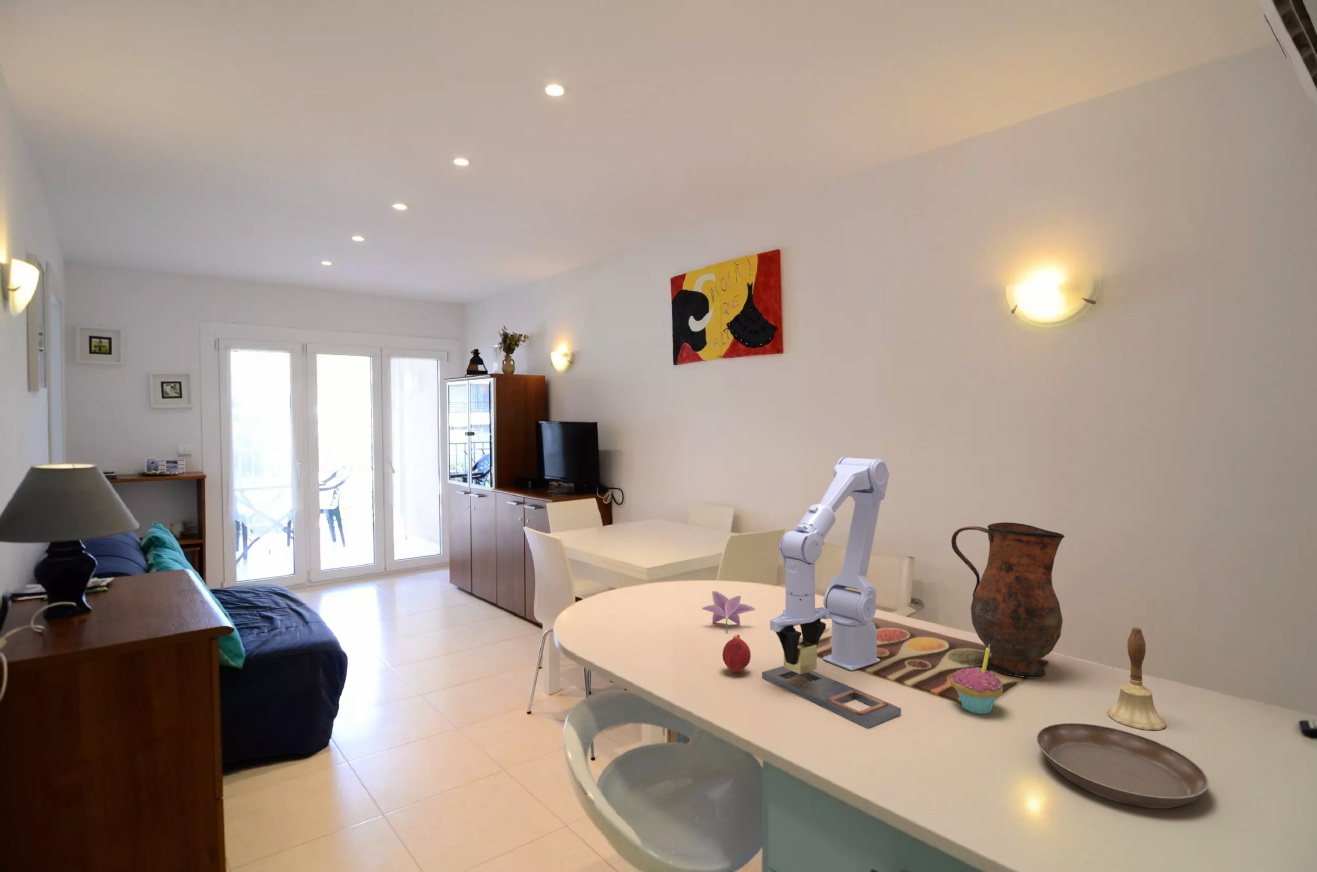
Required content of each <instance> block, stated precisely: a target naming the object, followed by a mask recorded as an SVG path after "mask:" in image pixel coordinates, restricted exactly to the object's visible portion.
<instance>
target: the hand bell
mask: <svg viewBox="0 0 1317 872" xmlns="http://www.w3.org/2000/svg"><path fill="white" fill-rule="evenodd" d="M1146 645H1147V644H1146V641H1145V637H1144V635H1143V632H1142V629H1141V628H1140V627H1132V629H1131V632H1130V634H1129V636H1128V640H1127V654H1128V657H1129V661H1130V675H1129V678H1130V679H1129V683H1126V684H1122V685H1121V686H1120V689H1119V690H1120V691H1119V695H1118V698H1117V701H1116V703H1115V704H1114V705H1113V706H1112V707H1110V708H1108V710H1107V711H1106V713H1107V715H1109V716H1110V717H1111V718H1112V719H1111V718H1110V717H1109V716H1108V717H1109V718H1110V719H1111V720H1113V721H1114V720H1115V721H1114V722H1117V723H1118V722H1119V723H1118V724H1121V725H1123V724H1124V726H1126V725H1127V726H1126V727H1131V728H1133V729H1139V730H1143V729H1144V730H1145V731H1161V730H1163V728H1164V729H1165V728H1166V727H1167V723H1166V721H1165V720H1164V718H1162V716H1161V715H1160V714H1159V713H1158V712H1157V710H1156V706H1155V704H1154V699H1153V693H1152V691H1151V690H1150V689H1149V688H1147V687H1145V686H1144V685H1143V663H1144V660H1145V656H1146V651H1147V650H1146V649H1147V647H1146ZM1165 726H1166V727H1165Z"/></svg>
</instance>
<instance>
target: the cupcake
mask: <svg viewBox="0 0 1317 872" xmlns="http://www.w3.org/2000/svg"><path fill="white" fill-rule="evenodd" d="M989 647H990V644H989V646H988V648H987V647H986V648H985V653H984V657H983V662H982V667H975V666H973V667H969V668H968V667H965V668H961V669H958V670H956V671H955V672H953V673H952V674H951V677H950V680H949V681H950V685H951V687H952V688H954V689H955V691H957V695H958V696H959V700H960V704H961V707H962V708H963V709H964V710H966V711H968V712H970V713H972V714H973V713H974V714H978V715H979V714H980V715H986V714H989V713H991V712H992V710H993V706H994V704H995V701H996V700H997V698H999V697H1001V696H1002V695H1003V693H1004V684H1003V681H1002V680H1001V679H1000V678H998V676H997V675H995V674H994V673H993V672H991V671H988V670H987V668H988V667H987V663H988V658H989V657H990V653H991V652H990V649H989Z"/></svg>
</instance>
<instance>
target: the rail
mask: <svg viewBox="0 0 1317 872" xmlns="http://www.w3.org/2000/svg"><path fill="white" fill-rule="evenodd" d="M761 676H762V677H761V678H762V679H764V680H766V681H768V682H770V683H772V684H774V685H776V686H778V687H781V689H784V690H787V691H789V692H791V693H793V694H795V695H797V696H799V697H801V698H803V699H806V700H808V701H810V702H812V703H814V704H816V705H818V706H820V707H822V708H824V709H826V710H829V711H830V712H832V713H834V714H837V715H838V716H841V717H842V718H845V719H847V720H848V721H851V722H853V723H855V724H858V725H859V726H861V727H864V728H866V729H869V728H872V727H875V726H877V725H880V724H882V723H884V722H887V721H889V720H892V719H894V718H897V717H899V716H902V715H901V714H902V708H901V707H899V706H896V705H895V704H892V703H890V702H887V701H885V700H882V699H881V698H878V697H875V696H873V695H871V694H868V693H866V692H864V691H862V690H859V689H857V688H854V687H852V686H850V685H847V684H845V683H842V682H840V681H838V680H836V679H833V678H831V677H828V676H826V675H823V674H821V673H819V672H816V670H813V671H810V672H807V673H804V674H801V675H800V674H798V673H796V672H793V671H791V670H789V669H787V668H784V665H781V666H778V667H774V668H772V669H768V670H764V671H762V672H761ZM797 676H801V677H804V678H806V679H808V680H810V681H809V682H806V683H803V684H801V685H800V684H798V683H796V682H793V681H791V680H789V678H793V677H797ZM853 700H856V701H858V702H860V703H862V704H865V705H867V706H869V707H868V708H866V709H862V710H856V709H855V708H852V707H850V706H849V705H846V704H844V703H848V702H849V701H853Z"/></svg>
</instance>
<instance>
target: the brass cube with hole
mask: <svg viewBox="0 0 1317 872" xmlns="http://www.w3.org/2000/svg"><path fill="white" fill-rule="evenodd" d="M817 650H818V646H817V644H814V643H812V642H809V641H806V640H804V639H803V638H802V637H800V639H799V643H798V648H797V661H796V664H795V665H792V664H790V663H787V662H786V659H785V655H784V654H783V666H784V668H787V669H789V670H791V671H793V672H796V673H798V674H800V675H799V676H801V674H804V673H807V672H810V671H816V670H818V669H817V667H818V665H817V664H818V663H817V658H818V657H817V656H818V655H817V653H818V652H817Z"/></svg>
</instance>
